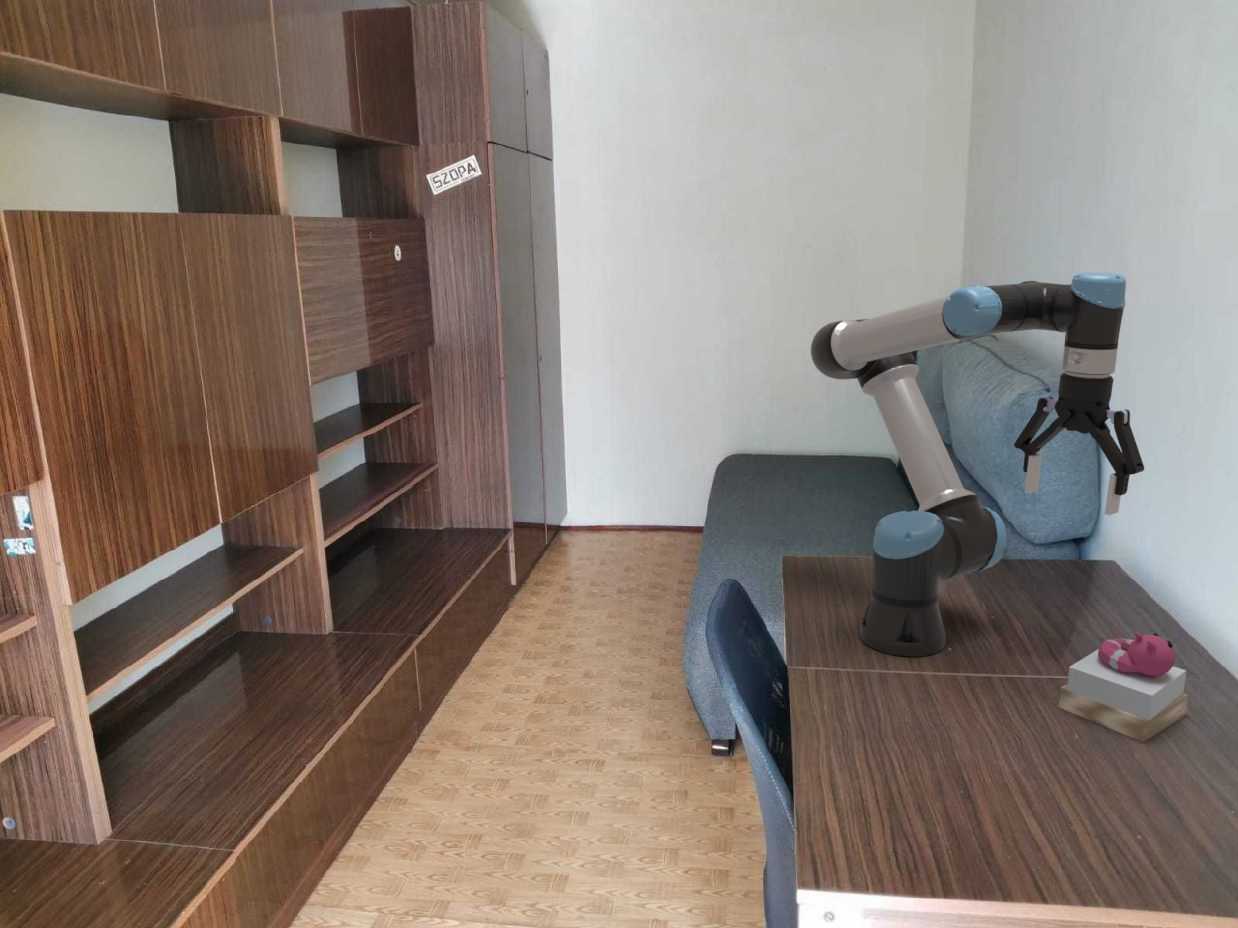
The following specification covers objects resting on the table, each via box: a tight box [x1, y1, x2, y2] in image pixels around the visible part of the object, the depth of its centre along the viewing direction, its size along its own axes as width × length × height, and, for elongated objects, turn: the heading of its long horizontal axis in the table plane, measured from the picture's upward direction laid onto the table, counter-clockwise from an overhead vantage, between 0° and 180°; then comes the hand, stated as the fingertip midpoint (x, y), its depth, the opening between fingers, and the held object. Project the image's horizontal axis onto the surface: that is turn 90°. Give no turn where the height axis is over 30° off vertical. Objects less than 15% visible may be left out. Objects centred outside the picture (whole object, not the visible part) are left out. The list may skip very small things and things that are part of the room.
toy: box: [1098, 631, 1176, 676], centre depth 140 cm, size 11×9×10 cm
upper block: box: [1067, 648, 1187, 721], centre depth 140 cm, size 12×12×4 cm
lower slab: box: [1058, 683, 1189, 743], centre depth 142 cm, size 13×13×4 cm
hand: (1069, 502), depth 149 cm, fingers open, 13 cm apart
